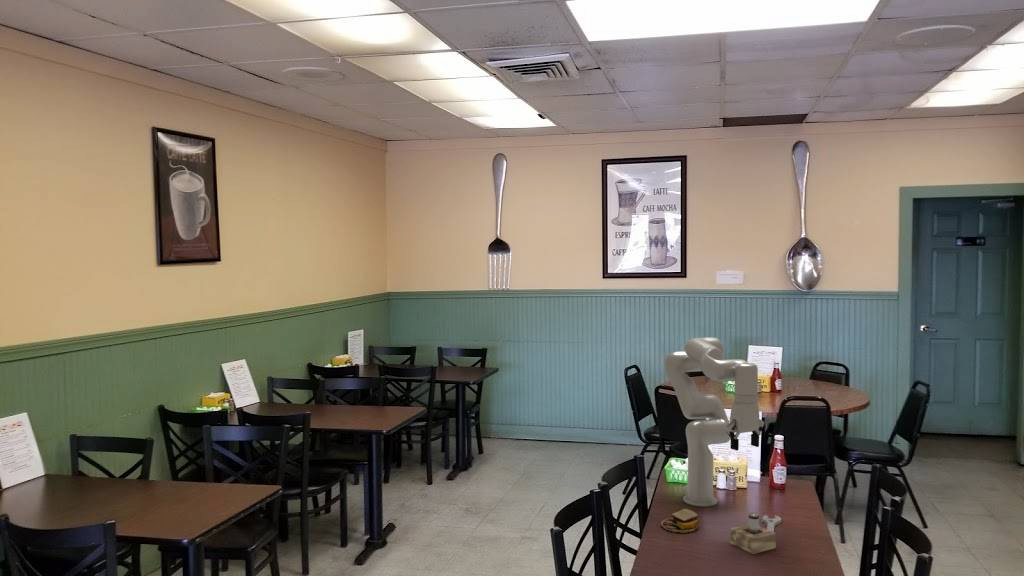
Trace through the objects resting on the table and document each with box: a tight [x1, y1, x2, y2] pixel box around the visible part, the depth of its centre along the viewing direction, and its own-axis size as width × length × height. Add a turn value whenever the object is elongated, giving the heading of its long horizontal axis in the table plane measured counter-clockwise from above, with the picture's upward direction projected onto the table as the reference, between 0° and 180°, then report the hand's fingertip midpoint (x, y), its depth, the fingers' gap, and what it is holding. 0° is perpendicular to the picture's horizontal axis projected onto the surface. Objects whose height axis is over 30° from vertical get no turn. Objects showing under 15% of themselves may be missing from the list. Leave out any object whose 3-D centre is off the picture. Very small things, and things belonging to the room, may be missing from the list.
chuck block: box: [729, 524, 777, 555], centre depth 248 cm, size 10×10×5 cm
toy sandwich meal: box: [660, 508, 699, 534], centre depth 265 cm, size 12×14×5 cm
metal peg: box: [747, 512, 760, 535], centre depth 248 cm, size 3×3×10 cm
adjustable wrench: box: [760, 514, 782, 533], centre depth 263 cm, size 25×6×2 cm, turn 154°
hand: (744, 447), depth 263 cm, fingers open, 9 cm apart
